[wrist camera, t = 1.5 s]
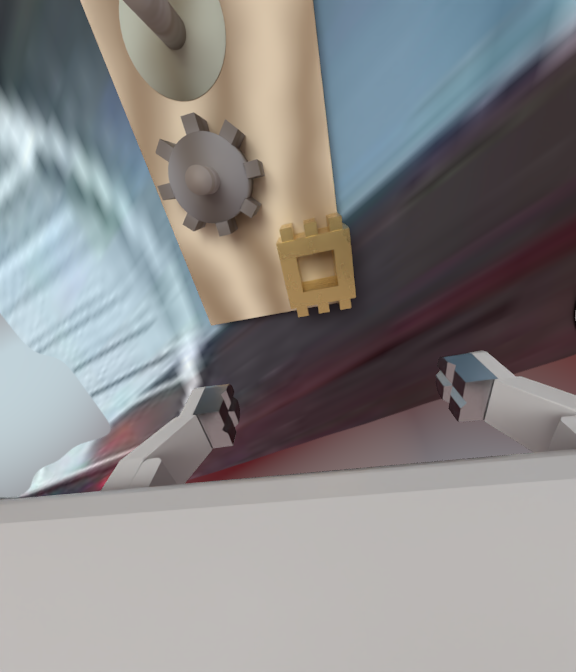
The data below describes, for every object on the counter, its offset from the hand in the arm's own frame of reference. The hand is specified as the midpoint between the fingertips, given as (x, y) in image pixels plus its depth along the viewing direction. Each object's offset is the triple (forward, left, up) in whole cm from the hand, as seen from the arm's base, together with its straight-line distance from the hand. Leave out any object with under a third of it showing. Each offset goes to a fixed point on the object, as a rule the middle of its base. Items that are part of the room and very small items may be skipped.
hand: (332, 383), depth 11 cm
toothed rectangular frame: (0, 0, -17) cm, 17 cm away
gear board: (+5, -9, -19) cm, 22 cm away
